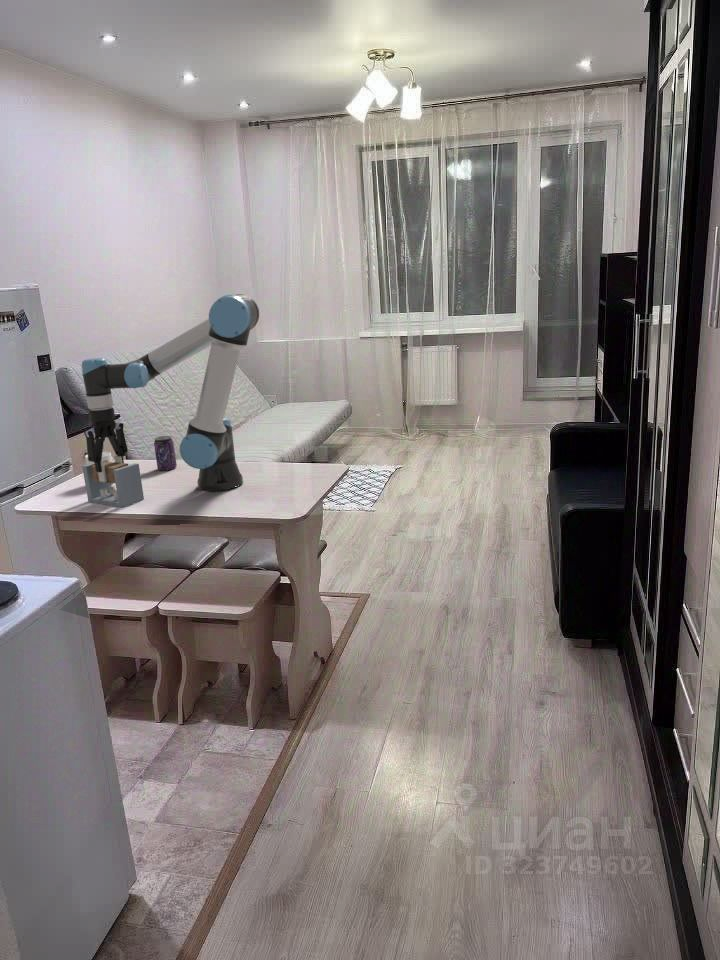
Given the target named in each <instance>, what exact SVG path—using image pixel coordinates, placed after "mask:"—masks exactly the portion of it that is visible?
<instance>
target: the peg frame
mask: <svg viewBox="0 0 720 960" xmlns="http://www.w3.org/2000/svg"><path fill="white" fill-rule="evenodd" d="M101 462H108V460H101ZM93 465H95V463H90V464H87V465H86V464H84V465H82V467H81V468H82V474H83V478H84V484H85V490H86V495H87V501H88V502H92V503H95V504H96V503H97V504H103V505H108V506H116V507H121V508H125V507H127V506H130V505H133V504H136V503H138V502H141V501H143V500H145V498H144V497H145V496H144V489H143V483H142V477H141V468H140V464H139V463H137V462H136V463H135V462H134V463H132V464H128V465H127V466H124V467H121V468H118V469H115V470H113V472H114V478H115V483H114V484H115V485H114V484H111V483H107V482H97V481H93V475H92V468H91V466H93Z"/></svg>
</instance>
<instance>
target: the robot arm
mask: <svg viewBox="0 0 720 960" xmlns="http://www.w3.org/2000/svg"><path fill="white" fill-rule="evenodd" d="M259 319H260V310H259V306H258V304H257V302H256V301H255V300H254V299H253V298H252V297H251V296H249V295H247V294H246V295H245V294H241V293H238V294H227V295H223V296H221V297H219V298H218V299H216V300H215V301H214V302H213V304H212V305H211V307H210V309H209V312H208V318H207V319H206V320H204V321H202V322H200V323H199V324H197V325H195V326H193V327H191V328H190V329H188V330H186V331H185V332H182V333H181V334H179V335H177V336H176V337H174V338H173V339H171V340H169V341H167V342H165V343H164V344H162V345H161V346H158V347H157V348H155V349H154V350H152V351H149V353H147V354H145V355H142V356H141V357H139V358H137V359H135V360H132V361H129V362H126V363H116V364H115V363H113V364H109V363H108V361H107V359H106V358H105V357H94V358H87V359H83V360H82V362H81V371H82V374H81V375H82V377H83V383H84V388H85V396H86V402H87V408H88V409H89V410H88V417H89V421H90V422H91V428H90V429H88V430H84V431H83V433H84V434H83V435H84V436H85V440H86V449H87V455H88V461H91V462H94V463H95V468H96V472H98V476H99V481H101V482H107V479H106V473H105V466H104V462H101V460H102V452H104V451H103V448H104V442H105V441H106V438H107V439H108V441H109V443H110V444H111V447H112V450H113V451H114V453H115V456H113V459H114V462H115V463H125V459H124V457H125V456H126V453H128V452H129V451H128V447H127V446H128V445H127V443H126V442H127V441H126V437H125V432H124V426H125V425H124V423H123V422H116V421H115V419H116V415H115V409H114V407H113V406H114V402H113V395H112V389H113V390H115V389H138V388H144V387H147V385H148V383H149V382H150V381H153V380H154V379H155V378H156V377H158V376H160V375H161V374H163V373H164V372H167V371H168V370H170V369H171V368H174V367H176V366H178V365H179V364H180V363H183V362H184V361H186V360H189V358H191V357H193V356H194V355H197V354H199V353H200V352H203V351H204V350H205V349H207V348H209V347H210V351H209V354H208V358H207V364H206V367H205V368H206V369H205V373H204V376H203V380H202V381H203V382H202V385H201V386H202V387H201V391H200V395H199V398H198V399H199V400H198V404H197V409H196V413H195V416H194V417H193V418H191V419H190V420H189V422H188V425H187V431H186V434H185V436H184V437H183V438H182V440H181V442H180V444H179V454H180V457H181V459H182V460H183V461H184V463H186V465H187V466H189V467H191V468H193V469H197V470H199V472H198V478H197V482H196V483H197V489H199V490H200V491H205V492H220V491H222V490H223V491H227V490H226V489H229V488H233V487H235V486H238V485H240V484H242V483H243V484H244V478H243V474H242V473H241V472H240V469H239V466H238V463H237V461H236V455H235V454H236V453H235V444H234V437H233V426H232V421H231V419H230V418H228V417H225V416H226V415H225V414H226V411H227V407H228V403H229V399H230V395H231V389H232V387H233V383H234V378H235V377H234V376H235V373H236V370H237V364H238V361H239V356H240V351H241V349H244V348H246V346H247V344H248V340H249V337H250V331H252V330H253V329H254V328H255V327H256V326H257V324H258V322H259ZM243 484H242V485H243ZM240 486H241V485H240ZM238 487H239V486H238ZM233 489H234V488H233ZM229 490H230V489H229Z"/></svg>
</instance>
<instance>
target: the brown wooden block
mask: <svg viewBox="0 0 720 960" xmlns="http://www.w3.org/2000/svg"><path fill="white" fill-rule="evenodd" d="M127 465H129V463H125V462H124V463H115V461H114V462H113V461H112V462H104V466H105V473H106V479H107V483H113V484H115V478H114V472H113V470H115V469H118V468H121V467H124V466H127ZM91 468H92V475H93V481H97V482H101V481H99V476H98V472H96V468H95V465H93V466H91Z"/></svg>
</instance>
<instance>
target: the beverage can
mask: <svg viewBox="0 0 720 960" xmlns="http://www.w3.org/2000/svg"><path fill="white" fill-rule="evenodd" d="M153 445H154V454H155V459H156V465H157V466H156V467H157V469H158V470H160V471H171V470H173V469H175V468H176V467H177V465H178V464H177V458H176V451H175V444H174V440H173V439H172V436H171V435H162V436H157V437H155V438H154V442H153Z"/></svg>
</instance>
